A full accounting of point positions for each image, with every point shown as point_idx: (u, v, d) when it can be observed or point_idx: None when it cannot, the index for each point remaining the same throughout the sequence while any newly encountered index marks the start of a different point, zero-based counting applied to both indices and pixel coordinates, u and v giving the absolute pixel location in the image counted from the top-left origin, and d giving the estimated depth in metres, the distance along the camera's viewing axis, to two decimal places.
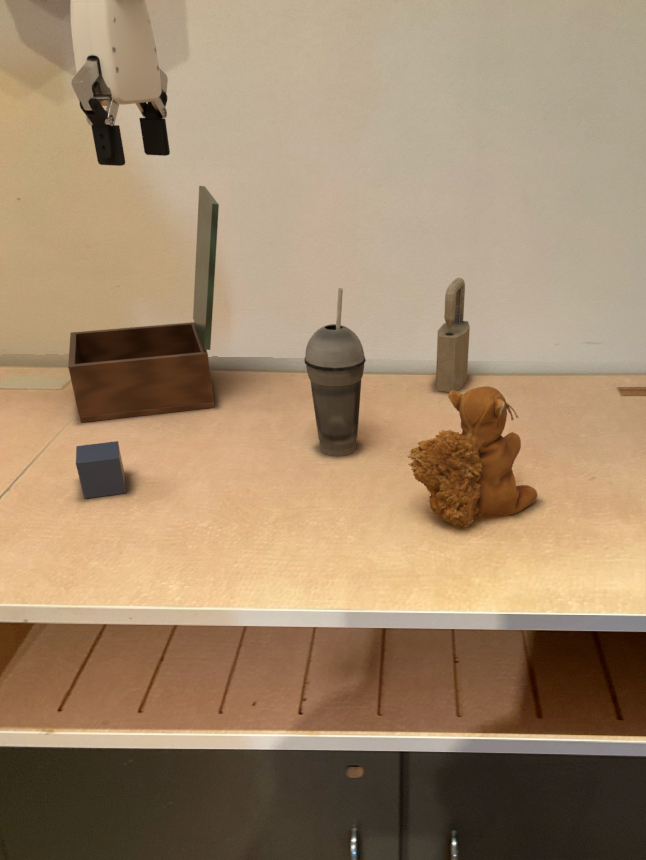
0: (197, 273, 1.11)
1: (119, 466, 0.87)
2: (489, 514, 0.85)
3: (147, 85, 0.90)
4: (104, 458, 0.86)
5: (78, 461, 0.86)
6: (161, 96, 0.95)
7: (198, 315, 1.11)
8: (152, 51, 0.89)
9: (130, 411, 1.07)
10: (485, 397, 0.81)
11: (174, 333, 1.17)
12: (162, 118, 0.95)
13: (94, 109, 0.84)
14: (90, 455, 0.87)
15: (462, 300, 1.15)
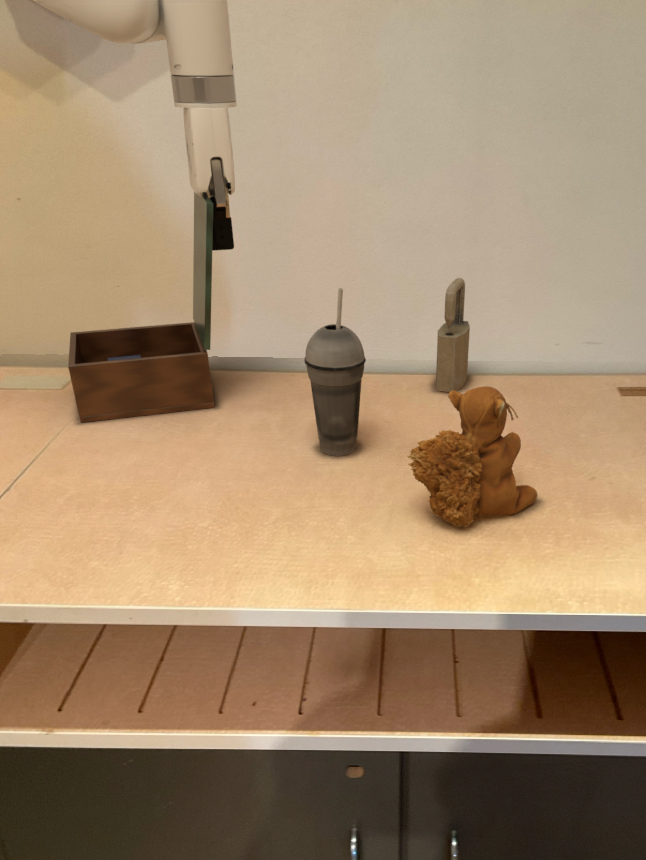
0: (195, 273, 1.11)
1: None
2: (489, 514, 0.85)
3: None
4: None
5: None
6: None
7: (197, 315, 1.11)
8: None
9: (130, 411, 1.07)
10: (485, 397, 0.81)
11: (174, 333, 1.17)
12: None
13: (225, 208, 1.02)
14: None
15: (462, 300, 1.15)
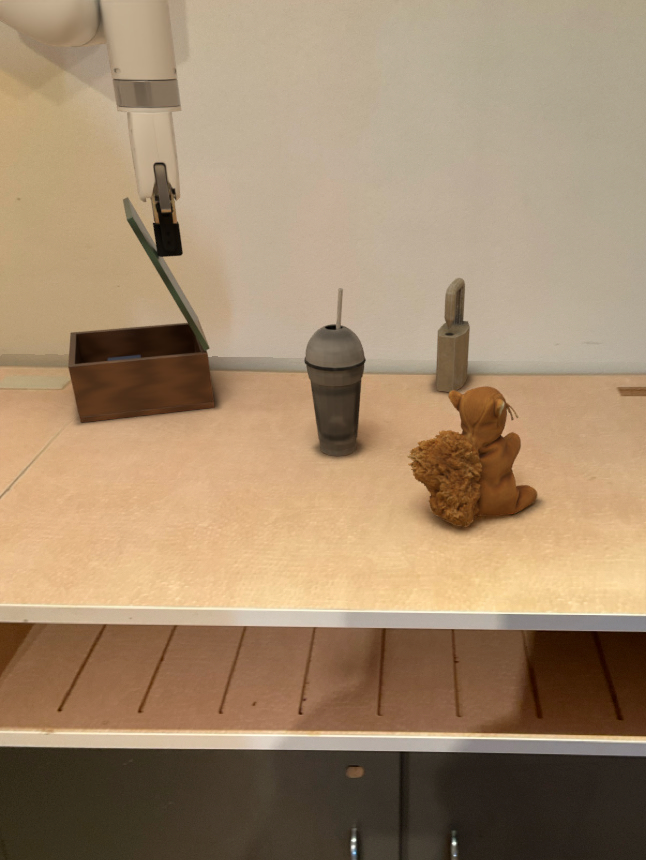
0: None
1: None
2: (489, 514, 0.85)
3: None
4: None
5: None
6: None
7: None
8: None
9: (130, 411, 1.07)
10: (485, 397, 0.81)
11: (174, 333, 1.17)
12: None
13: (171, 213, 1.00)
14: None
15: (462, 300, 1.15)
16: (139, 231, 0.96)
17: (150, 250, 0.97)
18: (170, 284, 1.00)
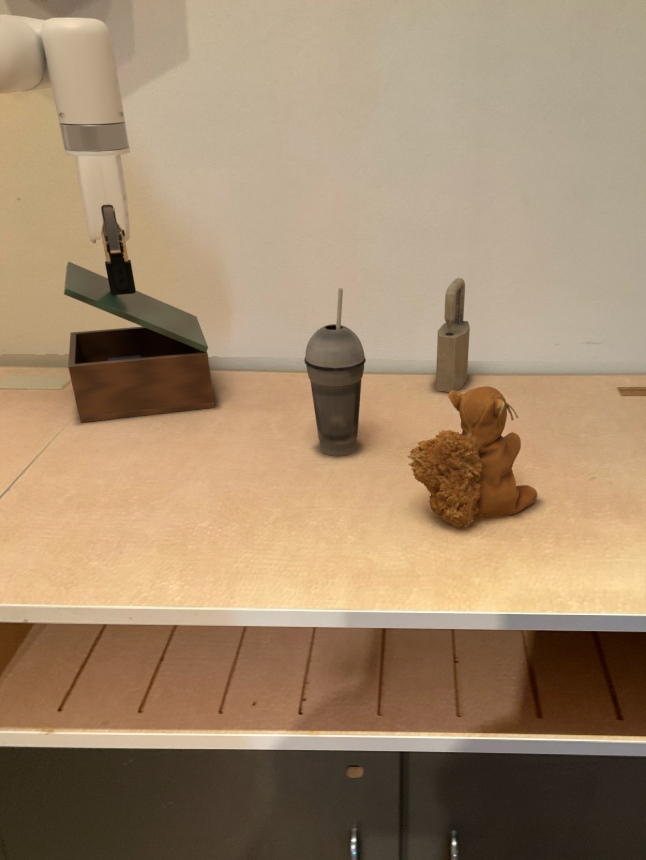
0: None
1: None
2: (489, 514, 0.85)
3: None
4: None
5: None
6: None
7: None
8: None
9: (130, 411, 1.07)
10: (485, 397, 0.81)
11: None
12: (128, 260, 1.04)
13: None
14: None
15: (462, 300, 1.15)
16: (80, 295, 0.97)
17: (100, 304, 0.99)
18: (137, 319, 1.01)
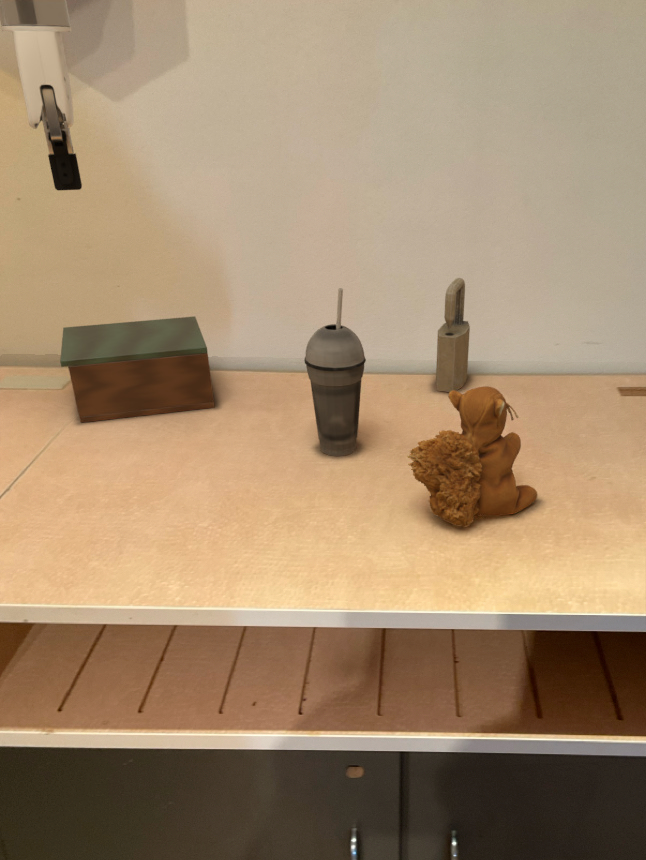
0: None
1: None
2: (489, 514, 0.85)
3: None
4: None
5: None
6: None
7: None
8: None
9: (130, 411, 1.07)
10: (485, 397, 0.81)
11: None
12: None
13: None
14: None
15: (462, 300, 1.15)
16: (75, 361, 1.01)
17: (95, 359, 1.02)
18: (132, 355, 1.03)
